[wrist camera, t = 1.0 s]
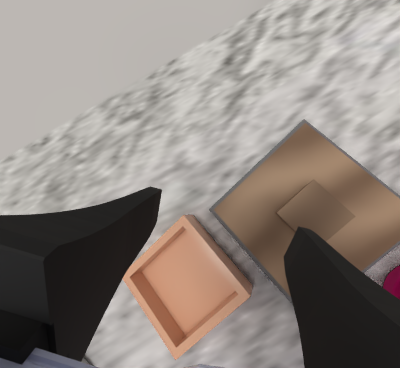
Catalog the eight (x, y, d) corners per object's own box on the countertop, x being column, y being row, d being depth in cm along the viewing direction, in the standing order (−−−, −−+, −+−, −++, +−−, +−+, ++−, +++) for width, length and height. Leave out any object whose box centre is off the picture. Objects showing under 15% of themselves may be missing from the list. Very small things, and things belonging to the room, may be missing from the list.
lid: (419, 219, 19) (466, 221, 15) (305, 311, 21) (315, 338, 16) (304, 125, 23) (312, 104, 19) (215, 209, 25) (203, 209, 20)
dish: (252, 286, 23) (250, 296, 20) (186, 343, 24) (175, 360, 22) (192, 214, 26) (183, 215, 23) (136, 269, 27) (120, 275, 24)
